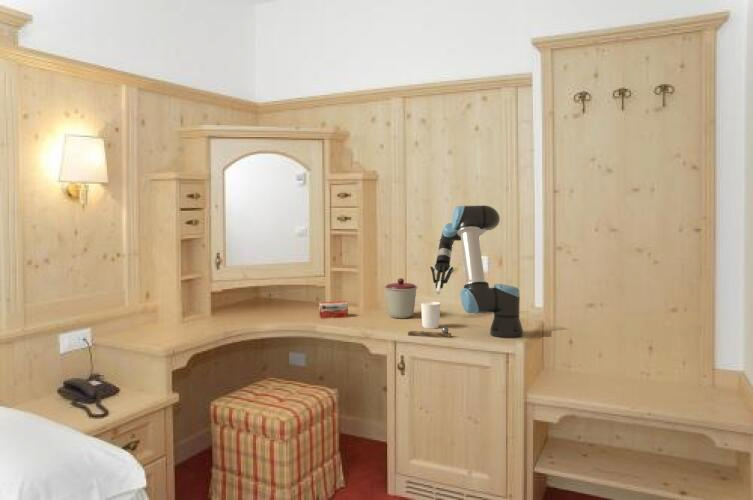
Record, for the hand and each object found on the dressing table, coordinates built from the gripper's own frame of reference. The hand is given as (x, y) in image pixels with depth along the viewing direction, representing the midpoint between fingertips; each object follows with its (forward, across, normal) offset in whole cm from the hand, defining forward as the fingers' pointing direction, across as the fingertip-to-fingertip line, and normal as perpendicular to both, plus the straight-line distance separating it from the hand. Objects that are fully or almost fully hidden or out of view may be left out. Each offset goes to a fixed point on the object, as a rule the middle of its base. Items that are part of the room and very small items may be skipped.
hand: (438, 292), depth 332 cm
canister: (+9, +21, -12) cm, 26 cm away
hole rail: (+39, -4, +19) cm, 44 cm away
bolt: (+38, -11, +20) cm, 45 cm away
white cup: (+25, 0, +5) cm, 25 cm away
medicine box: (+15, +57, -6) cm, 59 cm away
